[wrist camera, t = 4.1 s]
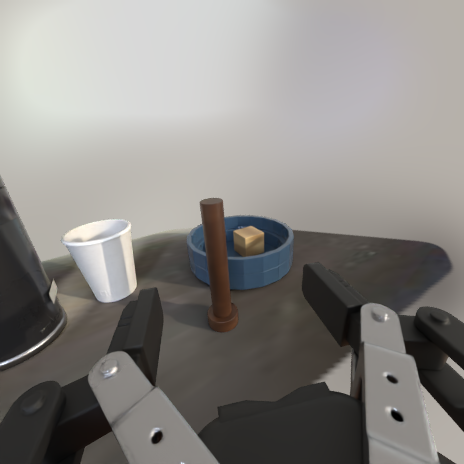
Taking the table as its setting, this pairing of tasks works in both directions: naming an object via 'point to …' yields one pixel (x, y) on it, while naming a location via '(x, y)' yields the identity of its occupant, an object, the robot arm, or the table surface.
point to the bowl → (251, 267)
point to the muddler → (217, 266)
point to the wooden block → (248, 241)
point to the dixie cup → (104, 257)
